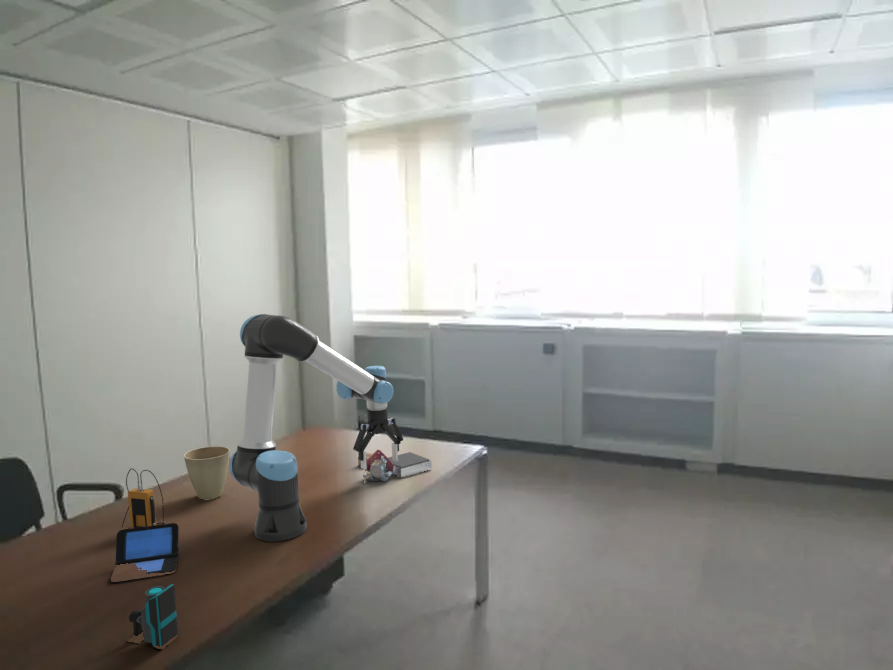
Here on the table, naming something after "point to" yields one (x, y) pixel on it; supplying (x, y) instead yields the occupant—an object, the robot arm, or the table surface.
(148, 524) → the multimeter
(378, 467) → the brake caliper
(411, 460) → the stand
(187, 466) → the plant pot
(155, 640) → the surveillance camera
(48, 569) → the table surface
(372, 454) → the brown rectangular block
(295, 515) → the robot arm
